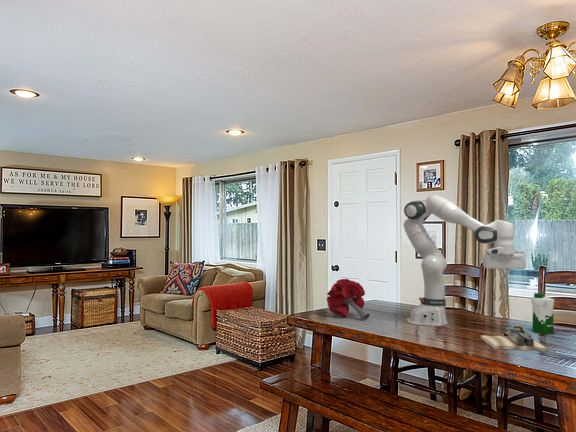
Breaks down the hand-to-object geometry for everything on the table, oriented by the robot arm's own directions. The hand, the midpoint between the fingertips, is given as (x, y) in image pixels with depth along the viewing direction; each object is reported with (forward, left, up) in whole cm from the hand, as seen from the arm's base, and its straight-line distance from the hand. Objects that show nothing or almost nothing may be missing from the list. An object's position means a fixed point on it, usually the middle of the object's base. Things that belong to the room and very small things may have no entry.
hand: (504, 277), depth 214 cm
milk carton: (+22, +8, -29) cm, 38 cm away
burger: (+5, -3, -30) cm, 30 cm away
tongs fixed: (-1, -20, -28) cm, 34 cm away
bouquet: (-79, +30, -29) cm, 89 cm away
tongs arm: (-3, -21, -27) cm, 35 cm away
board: (-4, -19, -29) cm, 35 cm away
